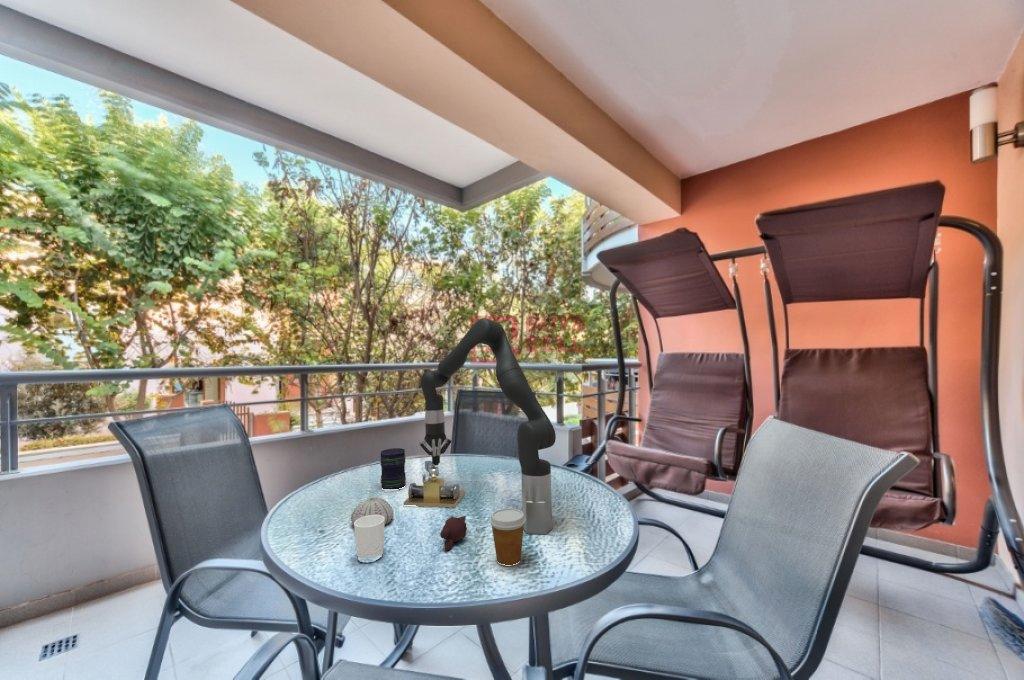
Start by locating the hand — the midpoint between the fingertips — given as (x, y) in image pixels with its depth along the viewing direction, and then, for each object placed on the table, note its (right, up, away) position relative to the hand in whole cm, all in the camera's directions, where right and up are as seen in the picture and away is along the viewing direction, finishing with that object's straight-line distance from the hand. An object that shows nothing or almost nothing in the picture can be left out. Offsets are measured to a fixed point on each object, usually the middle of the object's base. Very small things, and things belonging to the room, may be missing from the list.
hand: (436, 464), depth 160 cm
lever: (-1, -1, -5) cm, 5 cm away
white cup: (-9, -10, -49) cm, 51 cm away
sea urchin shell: (-16, -11, -27) cm, 33 cm away
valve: (+1, -11, -8) cm, 14 cm away
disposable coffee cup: (+29, -9, -53) cm, 61 cm away
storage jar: (-19, -12, +7) cm, 23 cm away
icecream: (+13, -10, -41) cm, 44 cm away
